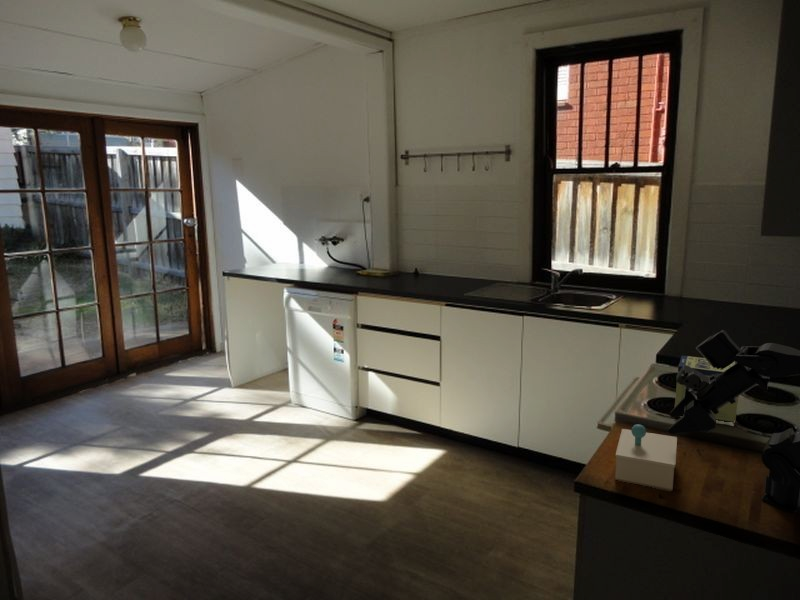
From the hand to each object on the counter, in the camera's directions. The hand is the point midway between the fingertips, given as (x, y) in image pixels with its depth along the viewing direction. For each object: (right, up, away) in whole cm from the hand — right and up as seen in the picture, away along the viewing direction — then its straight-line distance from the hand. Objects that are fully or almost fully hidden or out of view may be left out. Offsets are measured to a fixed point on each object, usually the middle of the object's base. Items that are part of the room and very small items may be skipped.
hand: (669, 423), depth 133 cm
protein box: (+26, -5, +34) cm, 43 cm away
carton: (-4, -12, +5) cm, 14 cm away
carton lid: (-4, -7, +3) cm, 8 cm away
